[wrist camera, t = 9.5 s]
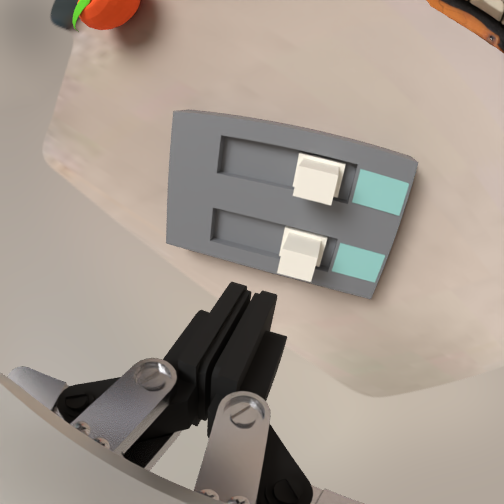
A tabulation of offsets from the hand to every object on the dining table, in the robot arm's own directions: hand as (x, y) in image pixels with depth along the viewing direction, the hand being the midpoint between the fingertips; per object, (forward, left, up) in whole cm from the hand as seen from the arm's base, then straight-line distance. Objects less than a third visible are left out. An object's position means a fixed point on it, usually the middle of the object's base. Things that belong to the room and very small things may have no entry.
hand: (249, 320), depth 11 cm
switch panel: (+2, +2, -21) cm, 21 cm away
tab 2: (-1, +6, -19) cm, 20 cm away
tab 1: (-1, -1, -19) cm, 19 cm away
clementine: (+23, -17, -21) cm, 36 cm away
